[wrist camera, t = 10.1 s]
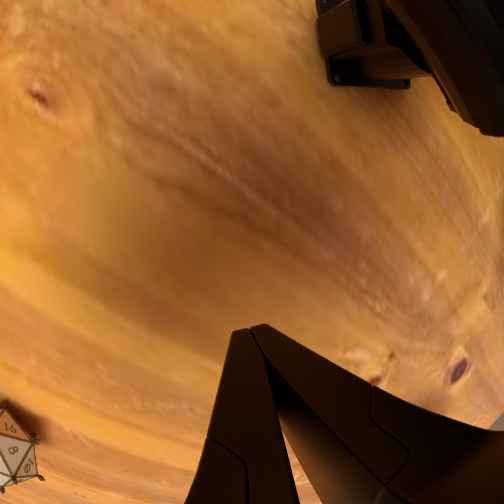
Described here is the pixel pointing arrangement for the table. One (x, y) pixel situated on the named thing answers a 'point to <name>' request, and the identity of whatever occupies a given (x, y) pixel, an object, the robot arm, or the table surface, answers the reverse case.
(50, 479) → the table surface
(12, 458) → the game die
